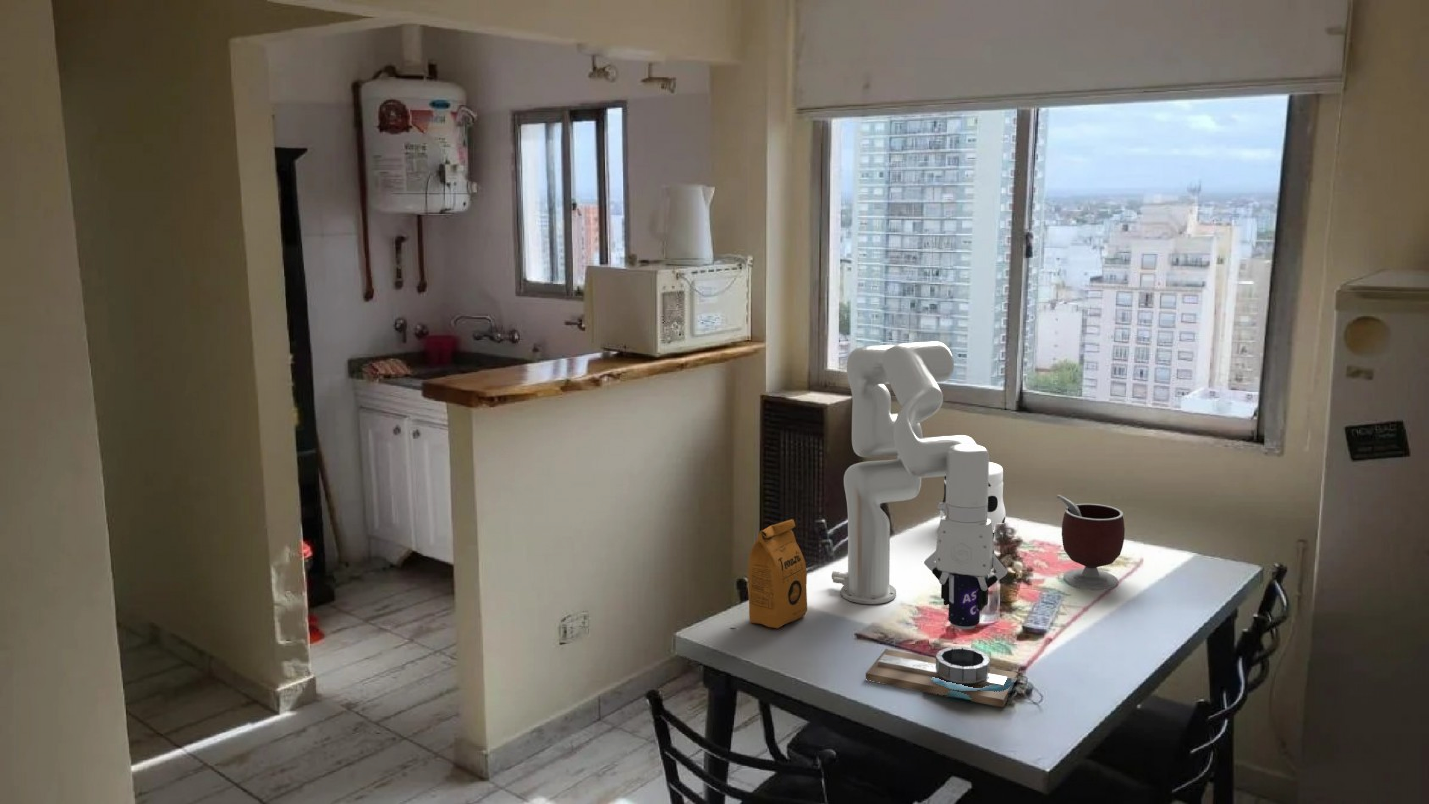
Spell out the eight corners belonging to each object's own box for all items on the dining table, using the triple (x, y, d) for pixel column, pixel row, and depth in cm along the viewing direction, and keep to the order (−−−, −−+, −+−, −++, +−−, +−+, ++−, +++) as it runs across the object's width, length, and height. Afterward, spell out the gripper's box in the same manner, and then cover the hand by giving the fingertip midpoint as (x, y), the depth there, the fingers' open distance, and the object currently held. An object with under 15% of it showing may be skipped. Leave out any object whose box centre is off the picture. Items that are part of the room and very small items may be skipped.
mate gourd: (1127, 576, 253) (1131, 496, 249) (1114, 595, 242) (1118, 511, 238) (1061, 565, 261) (1064, 487, 258) (1045, 583, 250) (1049, 502, 246)
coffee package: (814, 617, 233) (814, 522, 229) (776, 634, 224) (775, 535, 220) (781, 606, 240) (780, 512, 236) (742, 622, 231) (740, 525, 227)
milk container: (1004, 522, 296) (1006, 460, 293) (1005, 542, 280) (1007, 476, 276) (940, 519, 300) (942, 458, 297) (938, 538, 284) (940, 473, 280)
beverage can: (962, 633, 194) (963, 571, 192) (941, 622, 199) (943, 562, 197) (985, 627, 196) (987, 565, 194) (965, 616, 201) (966, 556, 199)
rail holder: (872, 671, 203) (873, 652, 202) (888, 652, 211) (888, 633, 210) (999, 695, 192) (1000, 675, 191) (1010, 674, 200) (1011, 655, 200)
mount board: (865, 680, 203) (865, 673, 202) (885, 656, 213) (885, 648, 213) (1003, 707, 191) (1003, 699, 190) (1017, 680, 201) (1017, 672, 201)
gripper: (914, 512, 194) (913, 605, 198) (1009, 523, 186) (1006, 620, 190) (926, 501, 201) (924, 592, 204) (1018, 511, 193) (1015, 605, 196)
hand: (964, 604), depth 197 cm, fingers closed on beverage can, 5 cm apart
